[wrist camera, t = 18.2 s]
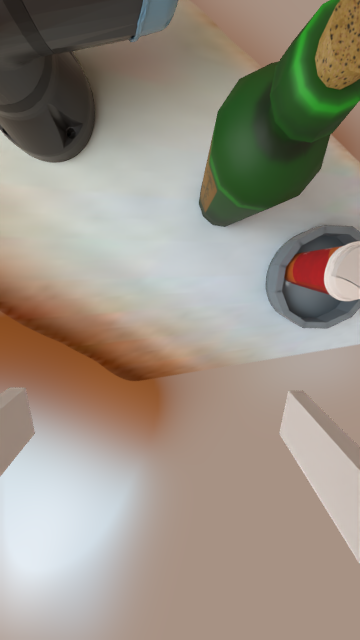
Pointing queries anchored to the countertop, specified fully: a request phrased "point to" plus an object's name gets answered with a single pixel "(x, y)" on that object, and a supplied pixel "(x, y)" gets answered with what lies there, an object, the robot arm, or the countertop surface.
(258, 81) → the bottle
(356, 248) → the paper cup
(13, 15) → the robot arm
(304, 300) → the bowl
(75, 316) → the countertop surface
